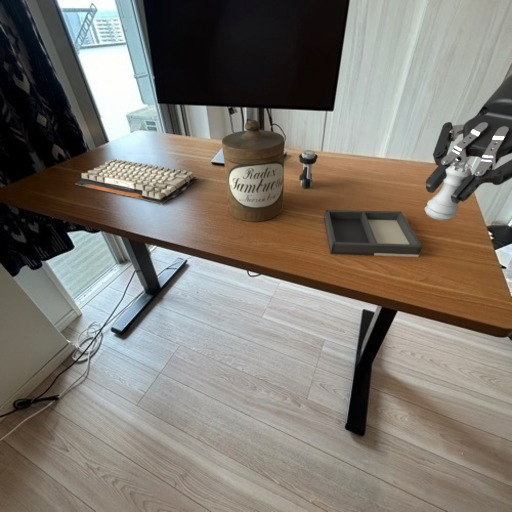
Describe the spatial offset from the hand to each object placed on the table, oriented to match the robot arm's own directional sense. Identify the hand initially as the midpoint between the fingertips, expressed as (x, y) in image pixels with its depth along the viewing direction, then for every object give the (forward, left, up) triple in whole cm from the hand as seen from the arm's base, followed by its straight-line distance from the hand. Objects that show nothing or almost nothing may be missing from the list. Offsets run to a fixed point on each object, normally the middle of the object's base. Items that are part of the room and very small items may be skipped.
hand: (441, 194), depth 40 cm
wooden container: (+31, -26, -18) cm, 44 cm away
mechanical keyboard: (+72, -41, -18) cm, 84 cm away
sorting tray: (+4, -14, -18) cm, 23 cm away
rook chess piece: (-2, -1, -4) cm, 5 cm away
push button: (+17, -41, -18) cm, 48 cm away
